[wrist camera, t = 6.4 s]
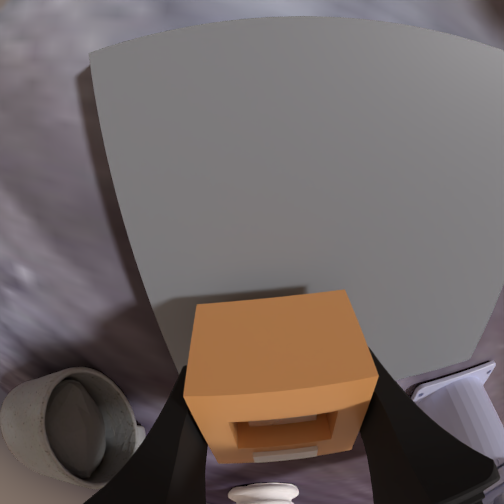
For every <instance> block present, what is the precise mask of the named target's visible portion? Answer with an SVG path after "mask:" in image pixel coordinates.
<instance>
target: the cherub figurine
mask: <svg viewBox="0 0 504 504" xmlns="http://www.w3.org/2000/svg"><path fill="white" fill-rule="evenodd" d="M298 494H299V490H298V489H297V487H296V486H294V485H293V484H287V483H286V484H285V483H283V484H282V483H265V484H262V483H260V484H257V483H256V484H252V485H248V486H244V487H242V486H241V487H235V488H233V489H231V490H230V491H229V493H228V497H229V499H231V500H233V501H235V502H236V503H237V504H294V503H293V502H291V499H293V498H295V497H296V496H297V495H298Z"/></svg>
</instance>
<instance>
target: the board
mask: <svg viewBox="0 0 504 504" xmlns="http://www.w3.org/2000/svg"><path fill="white" fill-rule="evenodd" d="M89 60H90V67H91V74H92V81H93V88H94V94H95V100H96V105H97V111H98V116H99V122H100V127H101V132H102V136H103V141H104V146H105V150H106V155H107V159H108V164H109V168H110V172H111V176H112V180H113V184H114V188H115V192H116V196H117V199H118V203H119V207H120V210H121V214H122V217H123V221H124V224H125V228H126V231H127V234H128V238H129V241H130V244H131V247H132V251H133V254H134V257H135V260H136V263H137V266H138V269H139V272H140V275H141V278H142V281H143V284H144V287H145V290H146V292H147V295H148V298H149V301H150V303H151V306H152V309H153V312H154V314H155V317H156V319H157V322H158V325H159V327H160V330H161V332H162V335H163V337H164V340H165V342H166V345H167V347H168V350H169V352H170V354H171V357H172V359H173V362H174V364H175V366H176V369H177V371H178V373H179V374H180V372H181V370H182V367H183V366H184V365H188V358H189V351H190V344H191V337H192V331H193V324H194V318H195V312H196V306H197V304H208V303H220V302H232V301H243V300H254V299H264V298H274V297H283V296H293V295H302V294H311V293H319V292H328V291H336V290H344V289H345V291H346V293H347V295H348V298H349V300H350V303H351V305H352V308H353V310H354V312H355V315H356V317H357V320H358V322H359V325H360V327H361V330H362V333H363V335H364V338H365V340H366V343H367V345H368V347H369V348H370V349H371V350H372V352H373V353H374V354H375V356H376V357H377V358H378V360H379V361H380V362H381V364H382V365H383V366H384V368H385V369H386V370H387V371H388V373H389V374H390V375H391V376H392V378H393V379H394V380H399V379H403V378H407V377H411V376H415V375H419V374H422V373H426V372H430V371H433V370H437V369H440V368H444V367H447V366H450V365H453V364H457V363H460V362H463V361H466V360H469V359H470V358H471V356H472V354H473V352H474V350H475V348H476V346H477V344H478V342H479V340H480V338H481V336H482V334H483V331H484V329H485V327H486V325H487V323H488V321H489V318H490V316H491V314H492V311H493V309H494V307H495V304H496V302H497V299H498V297H499V294H500V292H501V289H502V287H503V284H504V51H503V50H500V49H498V48H495V47H492V46H489V45H486V44H483V43H480V42H476V41H473V40H470V39H466V38H463V37H459V36H455V35H451V34H447V33H443V32H439V31H434V30H430V29H425V28H420V27H415V26H409V25H403V24H397V23H390V22H383V21H375V20H366V19H355V18H341V17H316V16H291V17H265V18H251V19H240V20H231V21H222V22H215V23H208V24H201V25H195V26H190V27H184V28H179V29H174V30H169V31H164V32H160V33H156V34H151V35H147V36H143V37H140V38H136V39H132V40H129V41H125V42H122V43H118V44H115V45H112V46H109V47H105V48H102V49H99V50H96V51H94V52H91V53H89Z"/></svg>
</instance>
